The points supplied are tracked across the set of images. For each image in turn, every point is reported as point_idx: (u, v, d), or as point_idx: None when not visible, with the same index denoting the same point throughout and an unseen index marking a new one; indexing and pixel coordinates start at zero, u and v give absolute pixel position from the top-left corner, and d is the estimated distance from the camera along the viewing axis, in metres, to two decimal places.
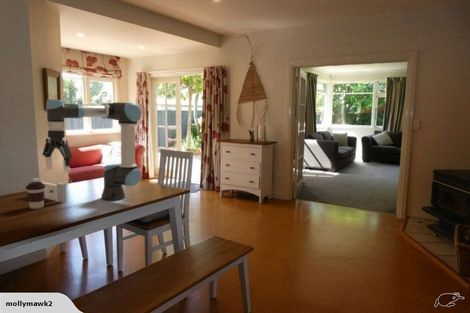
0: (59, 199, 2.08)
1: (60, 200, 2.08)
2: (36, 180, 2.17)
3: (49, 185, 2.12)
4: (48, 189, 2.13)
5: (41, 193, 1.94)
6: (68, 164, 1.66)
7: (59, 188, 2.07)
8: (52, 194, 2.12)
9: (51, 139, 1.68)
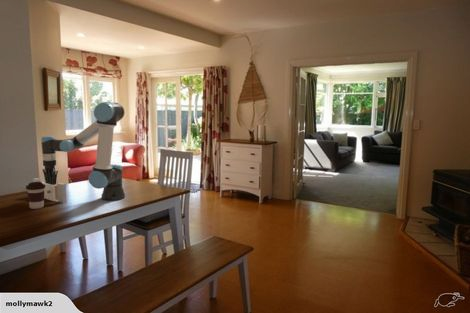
0: (59, 199, 2.08)
1: (60, 200, 2.08)
2: (36, 180, 2.17)
3: (47, 185, 2.11)
4: (46, 189, 2.12)
5: (41, 193, 1.94)
6: None
7: (59, 188, 2.07)
8: (50, 194, 2.10)
9: (45, 166, 2.13)
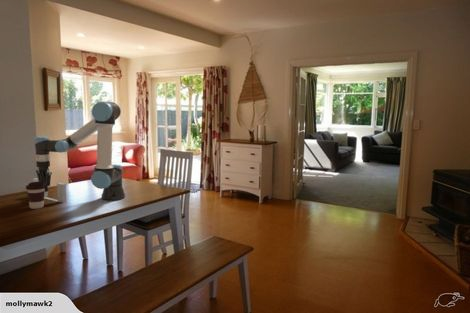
0: (59, 199, 2.08)
1: (60, 200, 2.08)
2: (36, 180, 2.17)
3: None
4: None
5: (41, 193, 1.94)
6: (47, 190, 2.11)
7: (59, 188, 2.07)
8: None
9: None
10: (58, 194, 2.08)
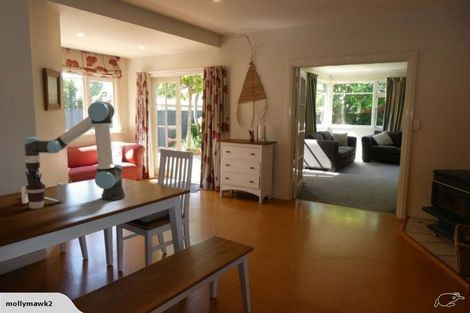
0: (59, 199, 2.08)
1: (60, 200, 2.08)
2: None
3: None
4: None
5: (41, 193, 1.94)
6: None
7: (59, 188, 2.07)
8: None
9: (28, 169, 2.03)
10: (58, 194, 2.08)
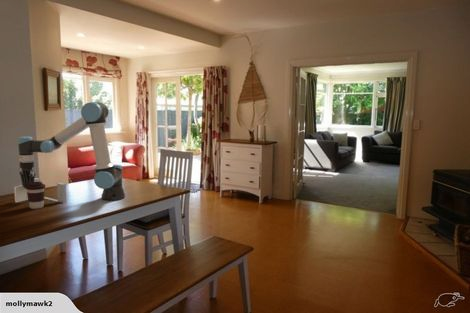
0: (59, 199, 2.08)
1: (60, 200, 2.08)
2: (36, 180, 2.17)
3: None
4: None
5: (41, 193, 1.94)
6: None
7: (59, 188, 2.07)
8: None
9: (22, 168, 2.04)
10: (58, 194, 2.08)
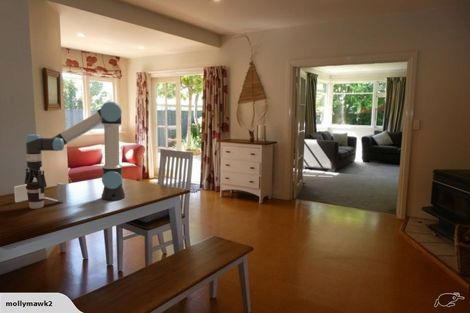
0: (59, 199, 2.08)
1: (60, 200, 2.08)
2: (36, 180, 2.17)
3: None
4: None
5: None
6: (43, 192, 1.93)
7: (59, 188, 2.07)
8: None
9: (30, 168, 1.94)
10: (58, 194, 2.08)
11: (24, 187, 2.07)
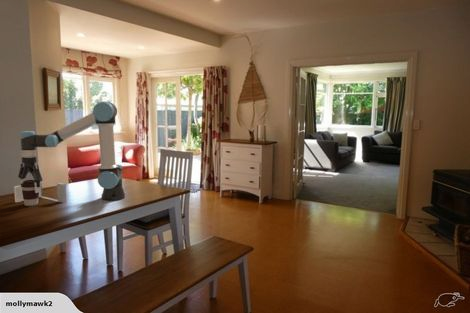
0: (59, 199, 2.08)
1: (60, 200, 2.08)
2: None
3: None
4: None
5: None
6: (39, 186, 1.96)
7: (59, 188, 2.07)
8: None
9: (25, 164, 1.98)
10: (58, 194, 2.08)
11: None
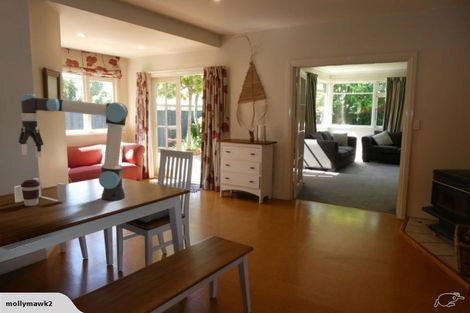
0: (59, 199, 2.08)
1: (60, 200, 2.08)
2: None
3: None
4: None
5: (36, 191, 1.99)
6: (40, 150, 1.92)
7: (59, 188, 2.07)
8: None
9: (25, 128, 1.94)
10: (58, 194, 2.08)
11: None
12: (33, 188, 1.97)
